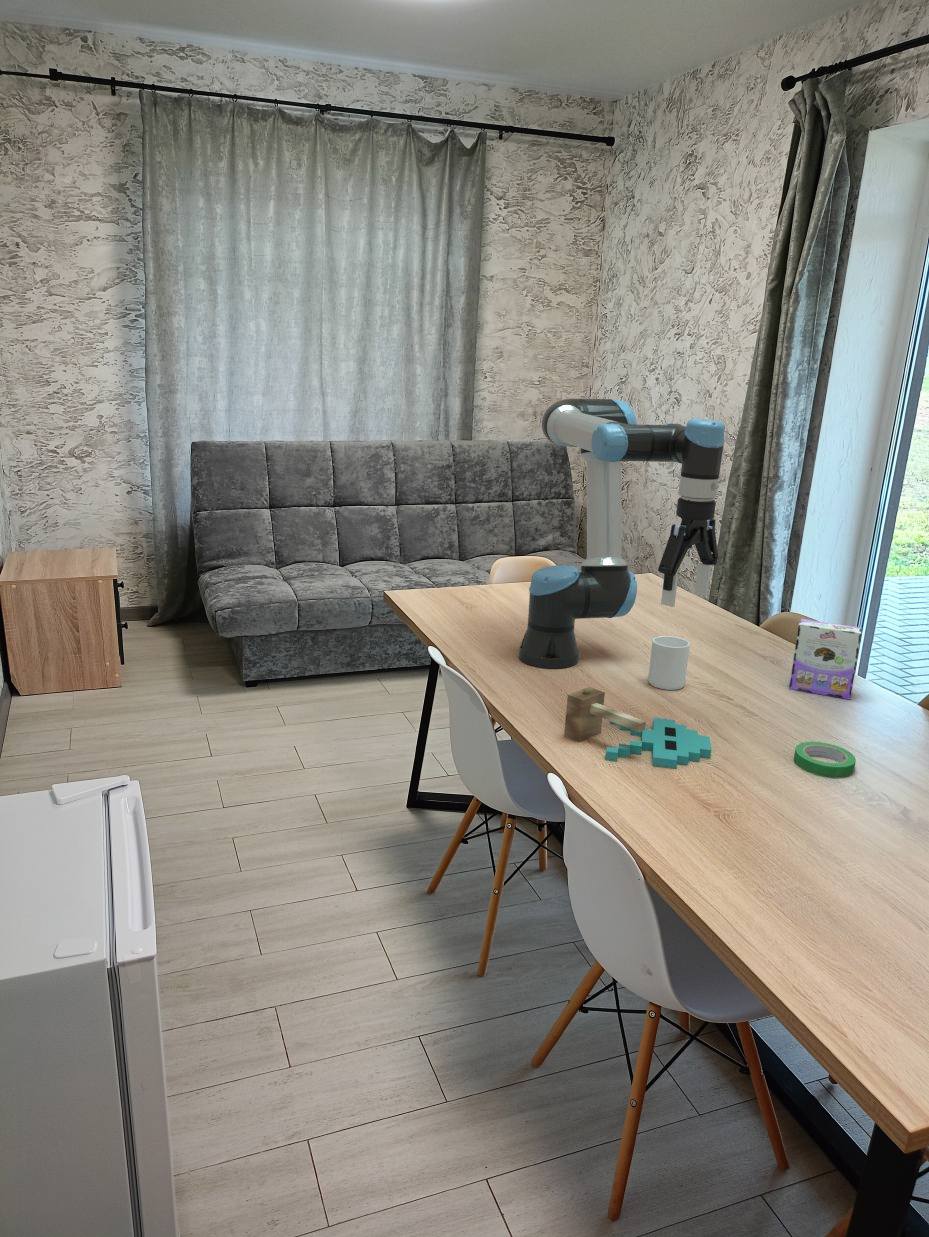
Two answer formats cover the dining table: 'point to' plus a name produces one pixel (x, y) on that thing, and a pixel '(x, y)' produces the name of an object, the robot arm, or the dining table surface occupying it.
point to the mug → (668, 662)
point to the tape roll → (824, 768)
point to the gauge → (593, 715)
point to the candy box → (825, 658)
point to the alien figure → (665, 744)
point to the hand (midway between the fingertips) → (684, 599)
